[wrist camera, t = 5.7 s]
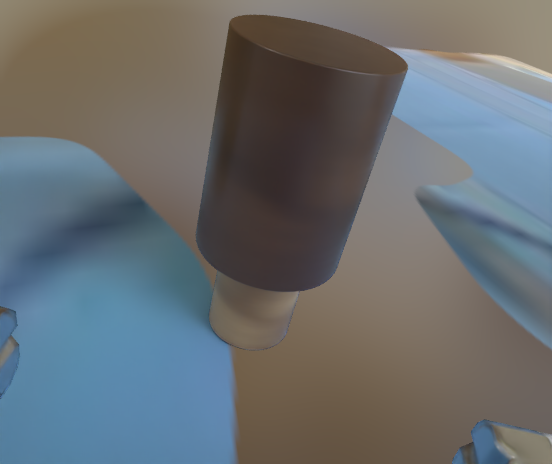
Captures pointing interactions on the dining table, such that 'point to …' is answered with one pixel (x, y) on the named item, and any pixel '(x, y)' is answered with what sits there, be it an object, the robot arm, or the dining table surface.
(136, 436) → the dining table surface
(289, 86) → the stopper
